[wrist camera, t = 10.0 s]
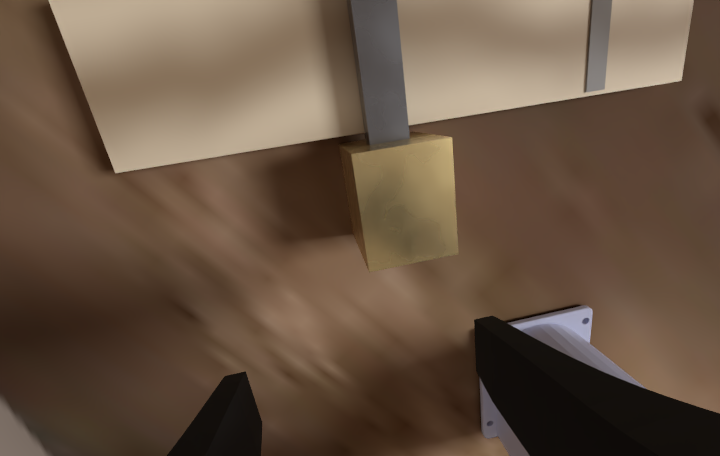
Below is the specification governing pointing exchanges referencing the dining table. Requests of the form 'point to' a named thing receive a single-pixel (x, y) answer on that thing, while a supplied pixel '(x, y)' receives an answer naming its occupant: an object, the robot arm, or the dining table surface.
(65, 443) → the dining table surface
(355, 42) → the marking gauge
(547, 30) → the maple board
